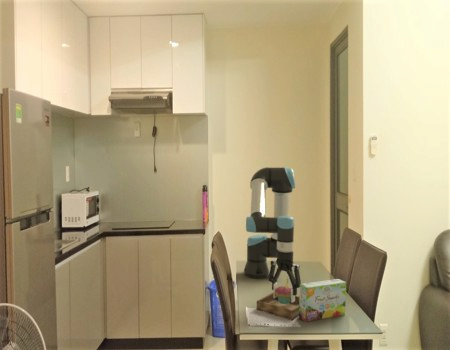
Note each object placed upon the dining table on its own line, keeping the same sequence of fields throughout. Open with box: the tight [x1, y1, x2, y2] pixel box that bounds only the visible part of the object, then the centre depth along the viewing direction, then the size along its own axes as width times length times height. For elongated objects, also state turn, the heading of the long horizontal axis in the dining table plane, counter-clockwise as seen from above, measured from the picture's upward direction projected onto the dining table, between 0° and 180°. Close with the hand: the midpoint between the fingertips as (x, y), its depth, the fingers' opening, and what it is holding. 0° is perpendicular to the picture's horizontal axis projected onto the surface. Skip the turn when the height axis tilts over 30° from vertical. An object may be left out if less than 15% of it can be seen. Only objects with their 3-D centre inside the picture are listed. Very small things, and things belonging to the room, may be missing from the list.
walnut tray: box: [256, 292, 300, 321], centre depth 173 cm, size 18×18×4 cm
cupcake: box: [275, 278, 292, 304], centre depth 172 cm, size 9×8×12 cm
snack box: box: [298, 278, 347, 323], centre depth 164 cm, size 21×6×15 cm, turn 114°
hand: (284, 299), depth 173 cm, fingers closed on cupcake, 8 cm apart
